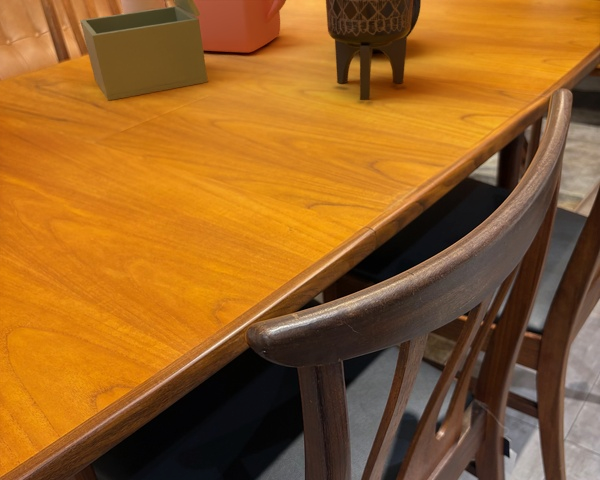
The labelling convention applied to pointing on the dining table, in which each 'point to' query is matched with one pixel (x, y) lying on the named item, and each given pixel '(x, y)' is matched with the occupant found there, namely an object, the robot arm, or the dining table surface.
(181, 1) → the lid
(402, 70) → the planter
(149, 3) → the mug
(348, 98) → the dining table surface
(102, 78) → the chest
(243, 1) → the teapot
